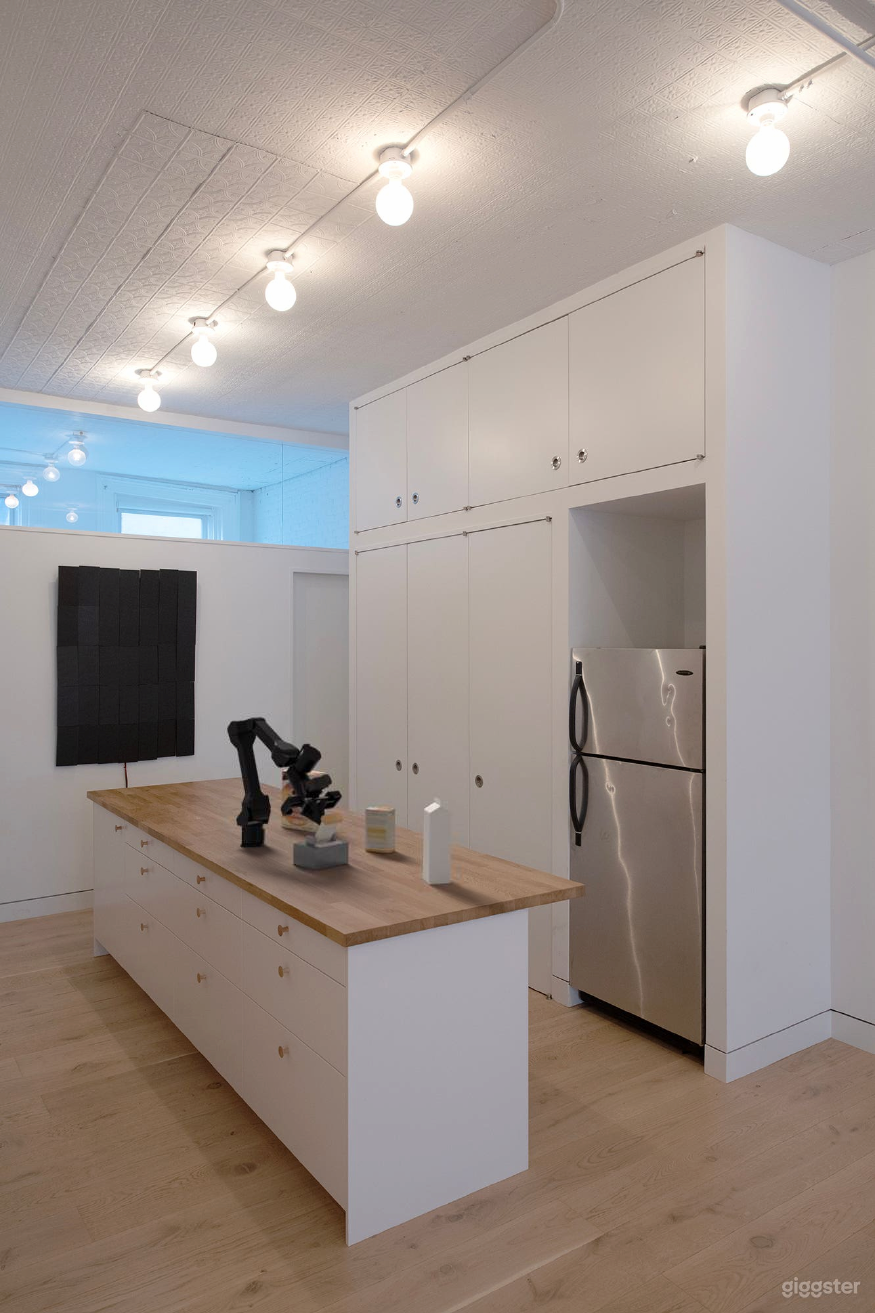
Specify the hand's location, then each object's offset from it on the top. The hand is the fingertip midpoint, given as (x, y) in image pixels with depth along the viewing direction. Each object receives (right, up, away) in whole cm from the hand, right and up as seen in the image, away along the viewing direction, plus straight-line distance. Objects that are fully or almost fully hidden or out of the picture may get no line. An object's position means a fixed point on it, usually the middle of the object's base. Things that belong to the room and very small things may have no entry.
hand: (324, 826), depth 251 cm
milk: (+32, -12, -16) cm, 38 cm away
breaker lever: (-1, -4, +1) cm, 4 cm away
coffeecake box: (-14, -11, +51) cm, 54 cm away
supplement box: (+15, -11, +18) cm, 26 cm away
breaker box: (-1, -11, +1) cm, 11 cm away
